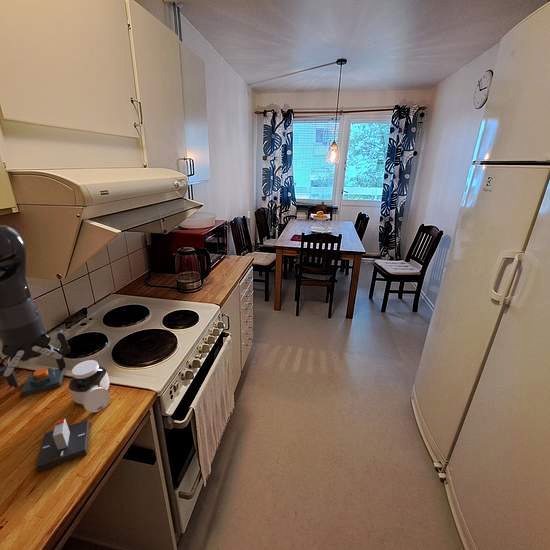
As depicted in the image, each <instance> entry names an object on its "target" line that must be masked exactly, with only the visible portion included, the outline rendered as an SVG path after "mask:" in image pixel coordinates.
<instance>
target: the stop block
mask: <svg viewBox="0 0 550 550" xmlns="http://www.w3.org/2000/svg"><path fill="white" fill-rule="evenodd" d="M46 368H47V370H48V373H49V374H48V375H47V376H46V377H44V378H42V379H38V380H37V379H35V377H34V372H33V373H32V374H30V375H28V376H27V377H26V379H25V381H24V383H23V386H22V389H21V391H20V393H21V396H22V397H27V396H30V395H34V394H38V393H41V392H45V391H50V390H53V389H57V388H59V387H62V384H63V380H64V375H65V368H63V371H61V372H60V370H59V368H56V369H55V368H54V369H53V368H52V367H51V368H49V367H46Z"/></svg>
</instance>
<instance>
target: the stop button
mask: <svg viewBox="0 0 550 550" xmlns="http://www.w3.org/2000/svg"><path fill="white" fill-rule="evenodd" d="M47 368H48V367H42V368H38V369H36V370H35V371H34V372H33V373H34V377H35V379H37V380H38V379H42V378H44V377H46V376H47V375H48V374H49V373H48V370H47Z"/></svg>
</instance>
